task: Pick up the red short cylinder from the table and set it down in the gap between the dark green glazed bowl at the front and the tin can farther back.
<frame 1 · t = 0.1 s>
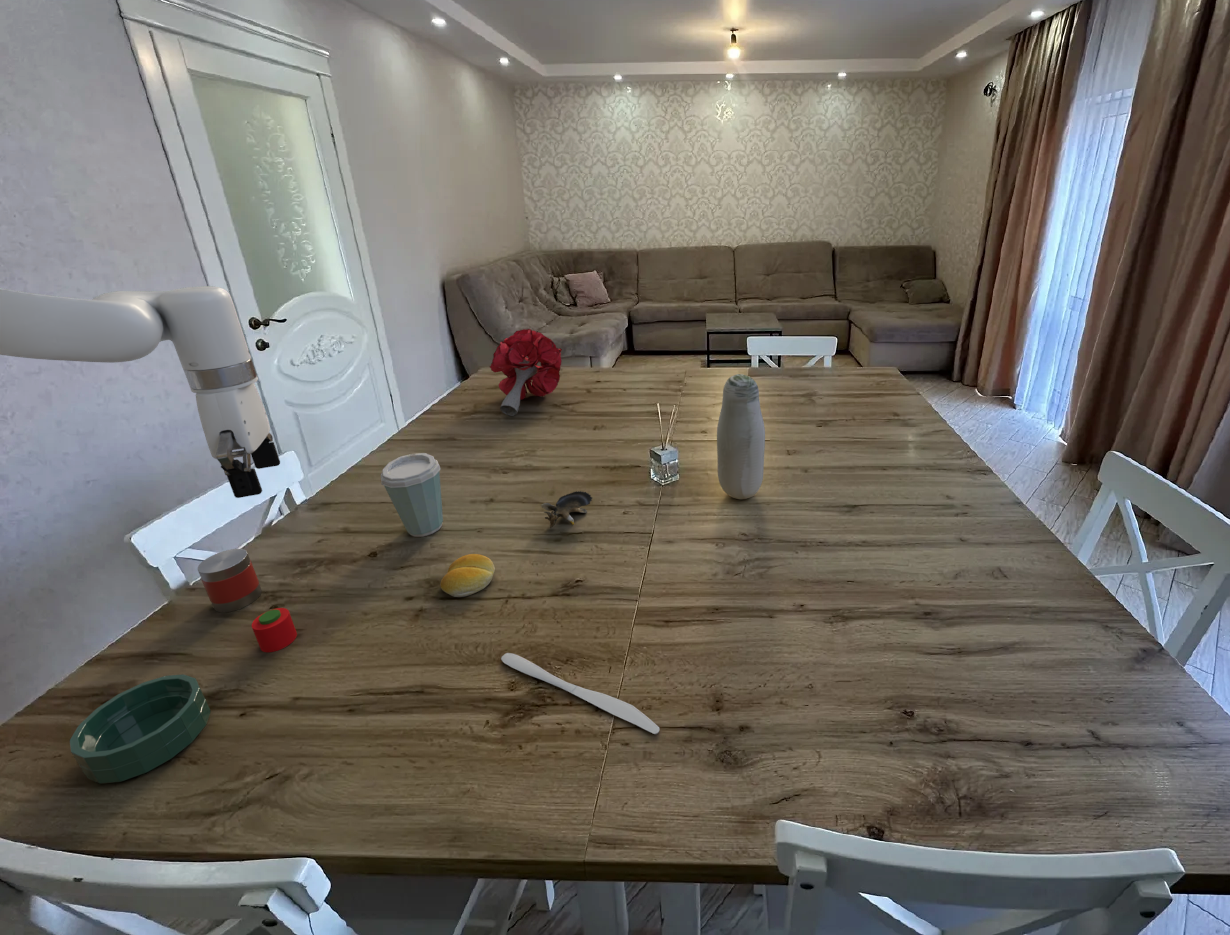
hand: (259, 480, 85), 23 cm above the table, tool pointing down, fingers open, 9 cm apart
can: (238, 599, 94), on the table
red short cylinder: (279, 640, 85), on the table
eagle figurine: (568, 521, 116), on the table
bouquet: (527, 401, 181), on the table
butter knife: (577, 691, 76), on the table
bowl: (153, 741, 70), on the table
bread roll: (469, 582, 98), on the table
white bottle: (740, 495, 124), on the table
disposable coffee cup: (424, 529, 113), on the table
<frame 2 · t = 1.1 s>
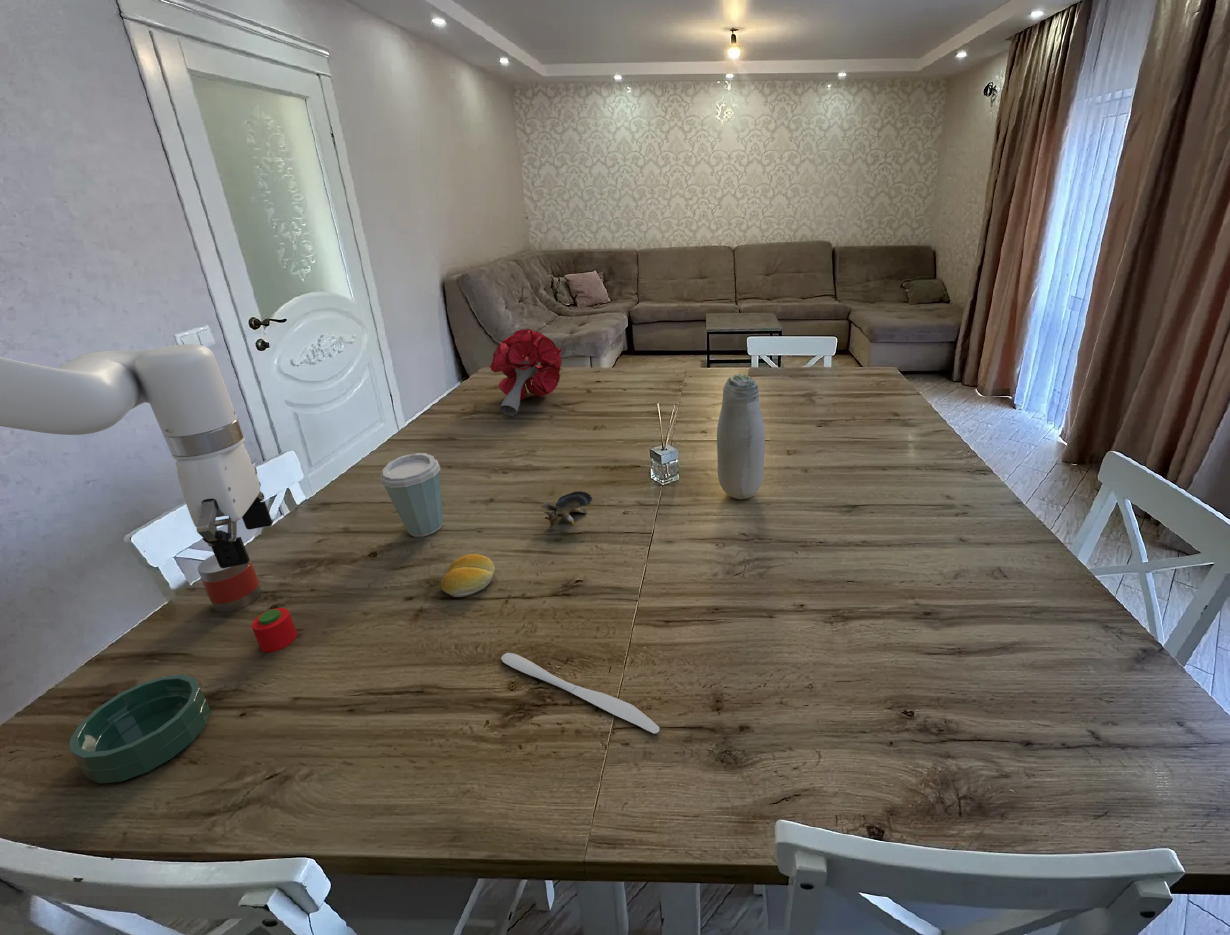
hand: (248, 544, 80), 17 cm above the table, tool pointing down, fingers open, 9 cm apart
nothing on the table moved.
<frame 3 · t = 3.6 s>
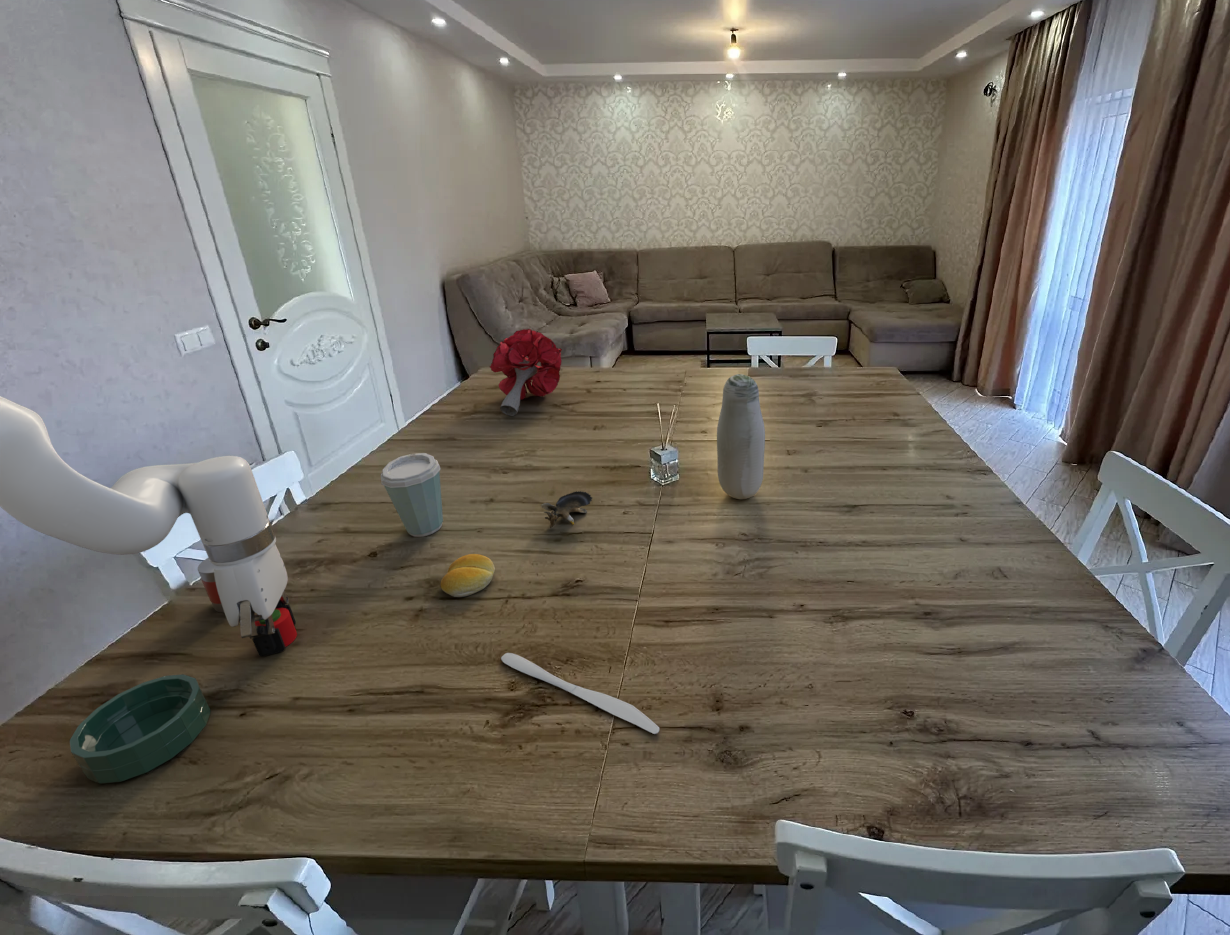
hand: (278, 639, 85), 0 cm above the table, tool pointing down, fingers closed on red short cylinder, 4 cm apart
red short cylinder: (279, 640, 85), on the table, touching gripper
everything else where it was.
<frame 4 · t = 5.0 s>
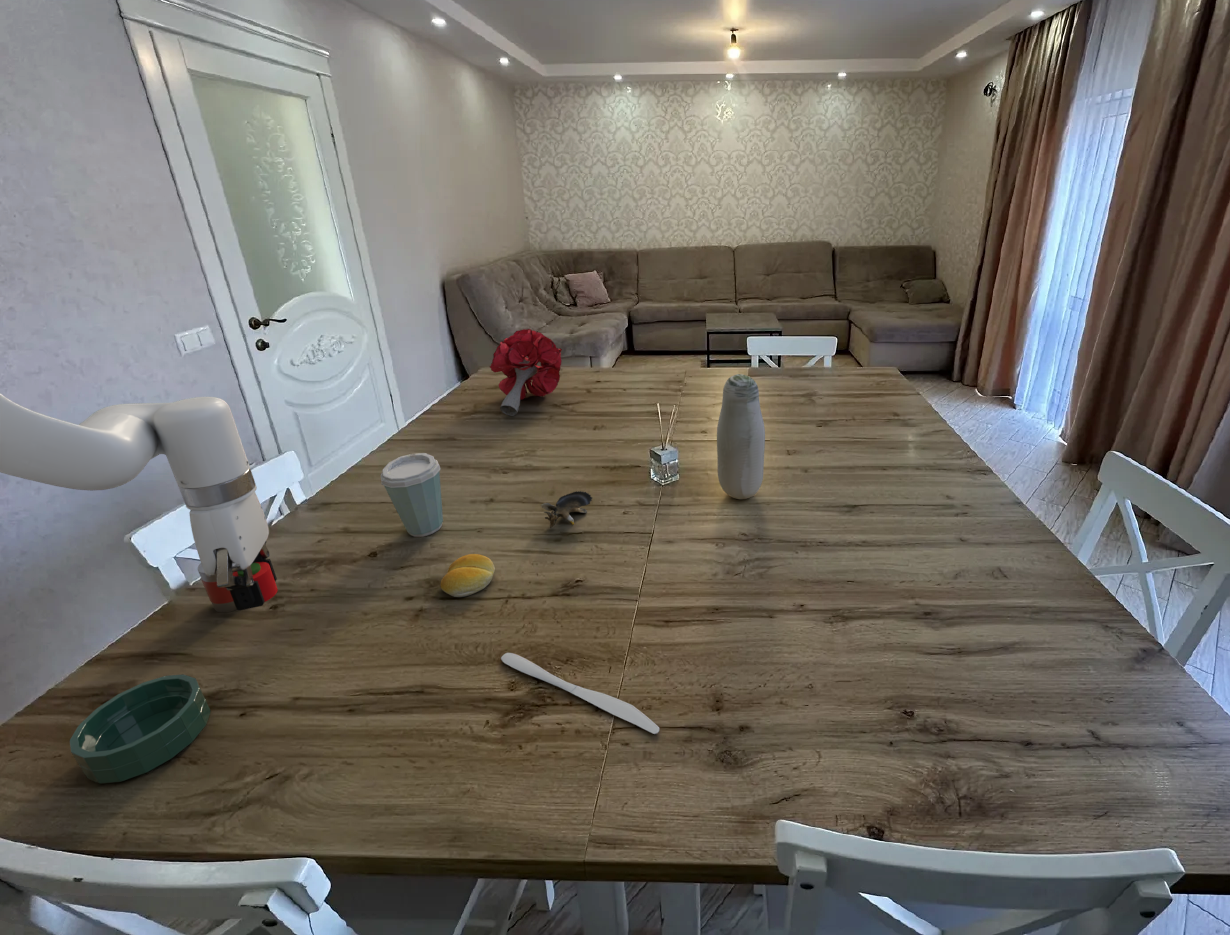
hand: (257, 593, 82), 9 cm above the table, tool pointing down, fingers closed on red short cylinder, 4 cm apart
red short cylinder: (258, 596, 82), point 9 cm above the table, touching gripper
everything else where it was.
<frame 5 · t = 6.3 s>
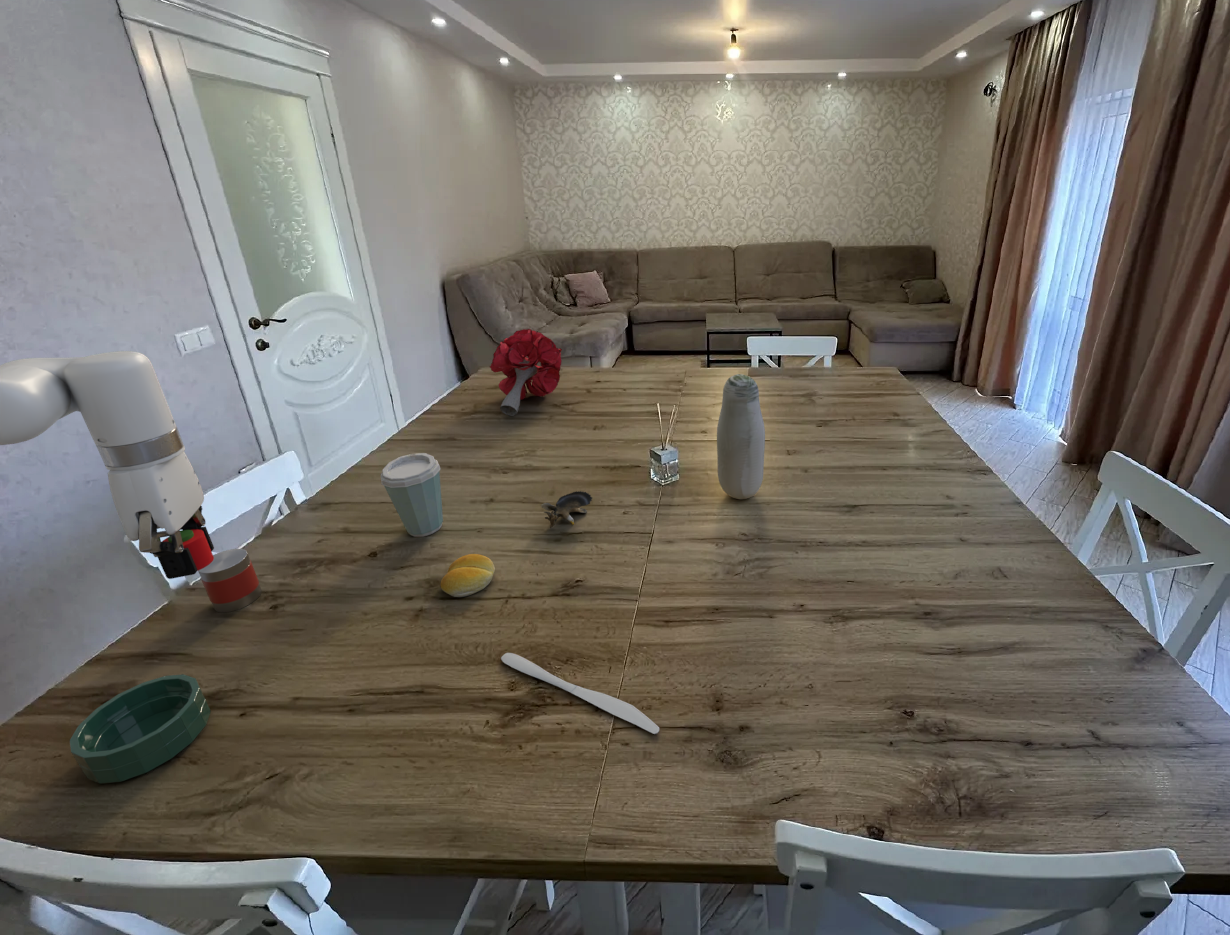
hand: (191, 562, 78), 16 cm above the table, tool pointing down, fingers closed on red short cylinder, 4 cm apart
red short cylinder: (192, 564, 78), point 16 cm above the table, touching gripper
everything else where it was.
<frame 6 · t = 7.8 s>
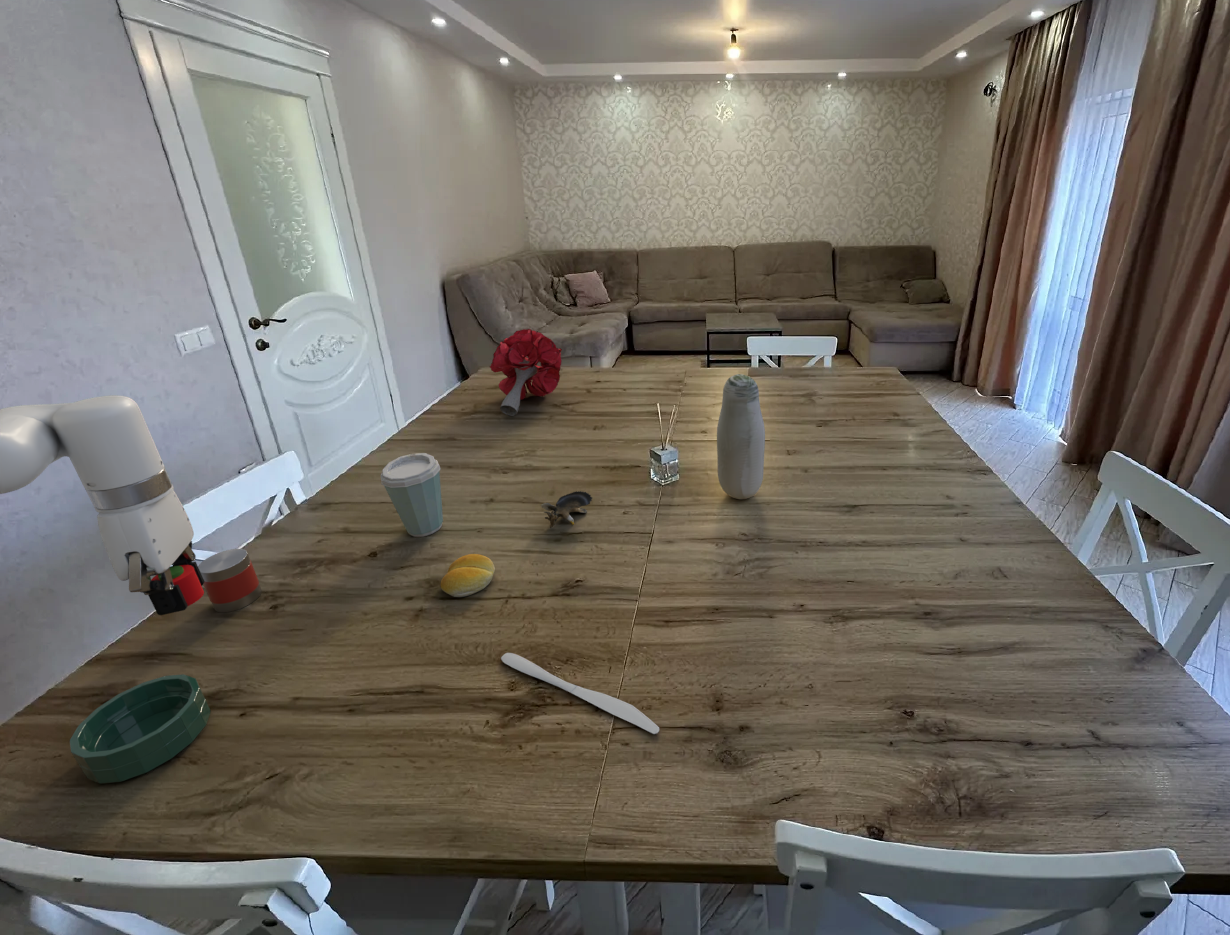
hand: (182, 597, 79), 10 cm above the table, tool pointing down, fingers closed on red short cylinder, 4 cm apart
red short cylinder: (183, 599, 80), point 10 cm above the table, touching gripper
everything else where it was.
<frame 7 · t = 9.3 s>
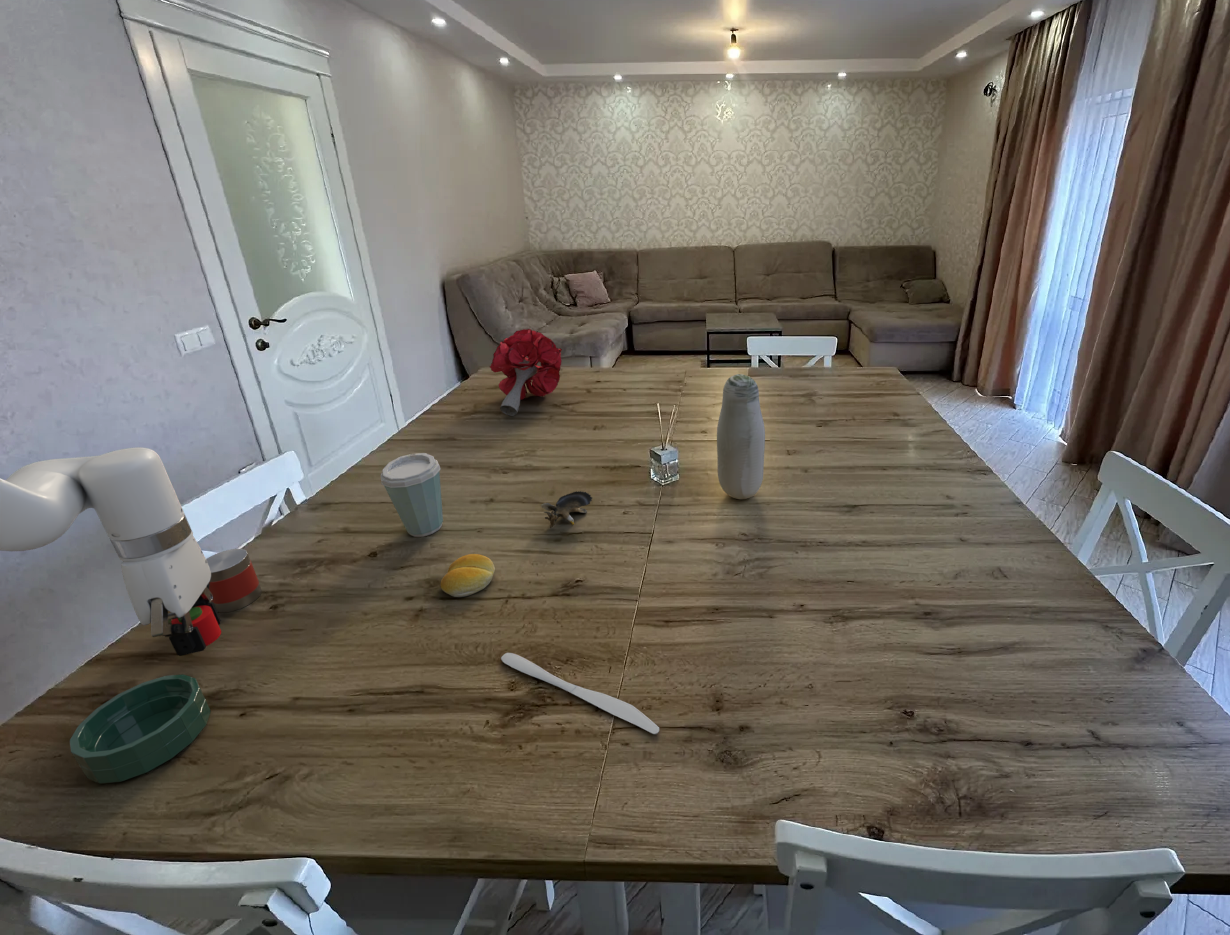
hand: (200, 637, 82), 3 cm above the table, tool pointing down, fingers closed on red short cylinder, 4 cm apart
red short cylinder: (201, 639, 82), point 3 cm above the table, touching gripper
everything else where it was.
when the fingers open (0 cm above the table, at t = 10.4 s): red short cylinder stays where it is, on the table.
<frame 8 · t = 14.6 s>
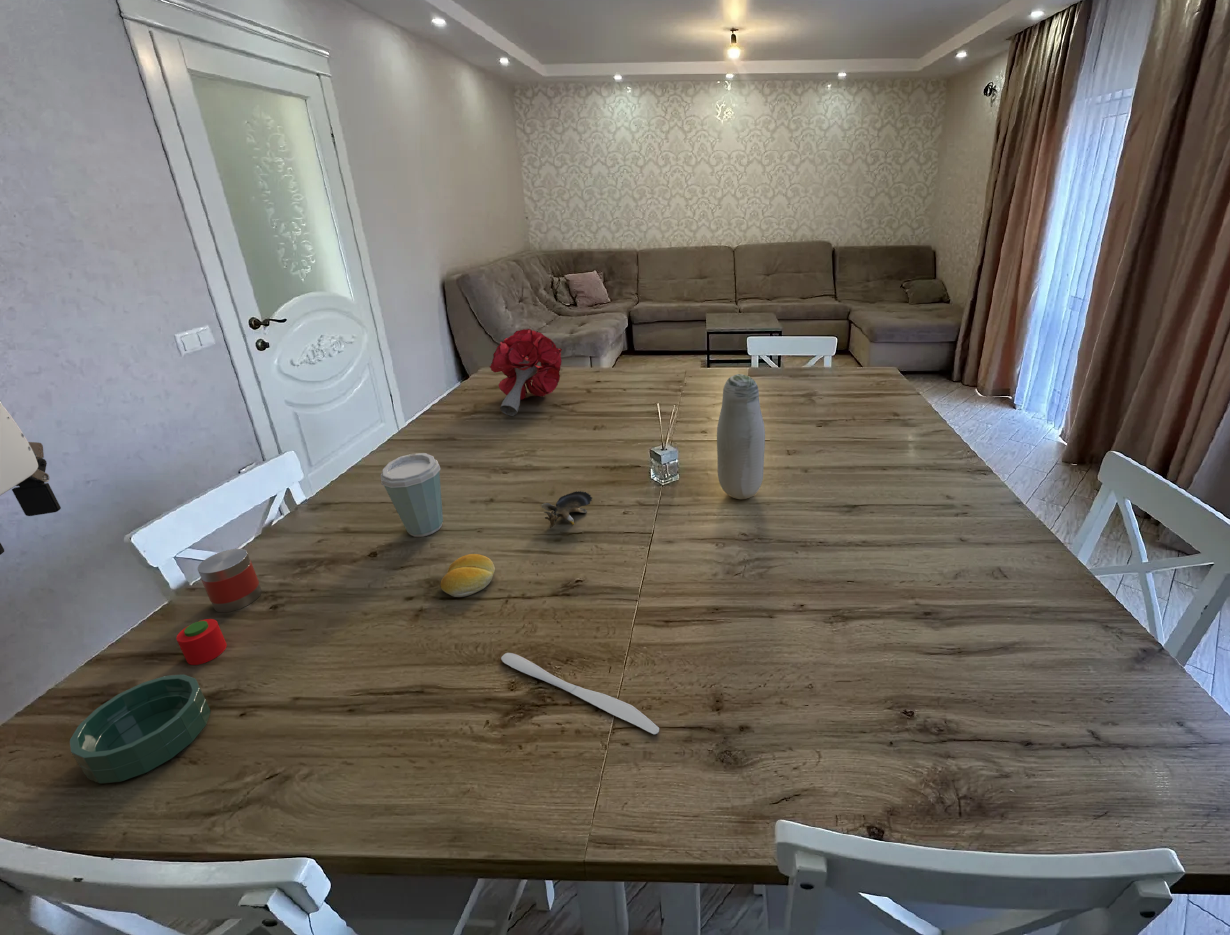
hand: (16, 533, 67), 26 cm above the table, tool pointing down, fingers open, 9 cm apart
red short cylinder: (207, 652, 83), on the table
everything else where it was.
at the end: red short cylinder 0.1 cm from the target spot on the table beside the bowl, on the table; red short cylinder 12.6 cm from the can (horizontally); the gripper is holding nothing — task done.
